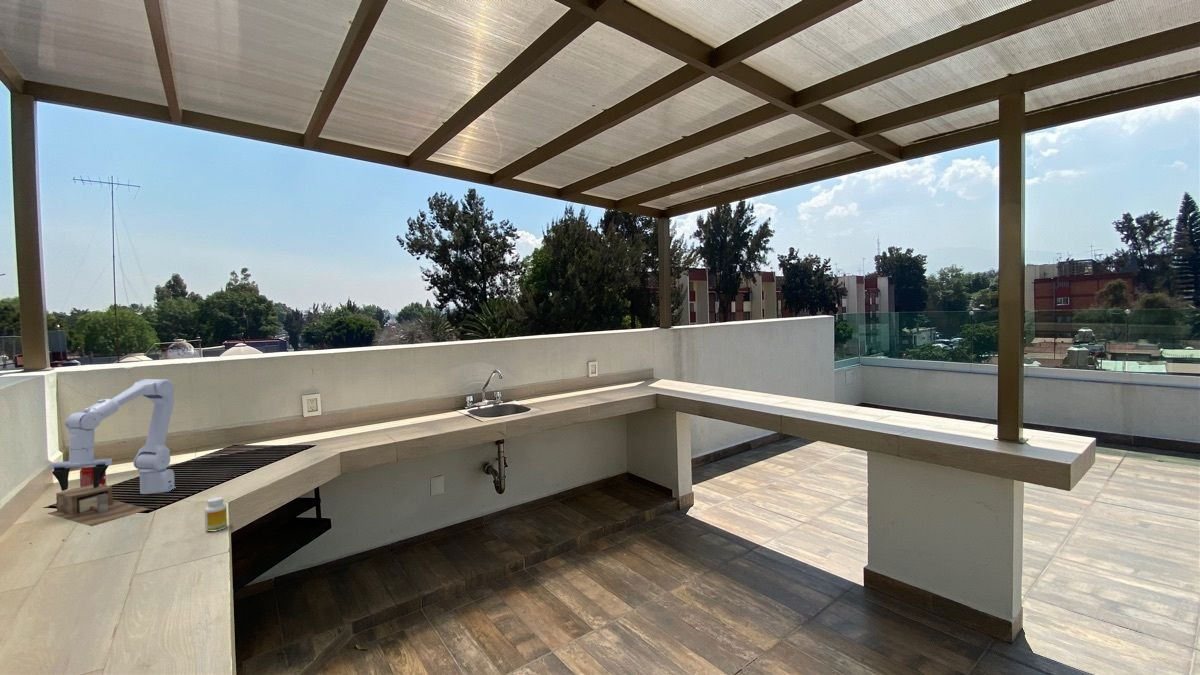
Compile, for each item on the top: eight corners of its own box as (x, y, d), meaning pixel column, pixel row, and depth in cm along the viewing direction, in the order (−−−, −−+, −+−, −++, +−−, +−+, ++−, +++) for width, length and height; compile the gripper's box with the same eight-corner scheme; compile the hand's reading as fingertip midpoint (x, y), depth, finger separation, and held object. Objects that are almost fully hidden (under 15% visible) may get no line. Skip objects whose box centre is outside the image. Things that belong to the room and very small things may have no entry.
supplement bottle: (230, 527, 154) (229, 497, 154) (211, 533, 150) (210, 503, 149) (221, 524, 157) (220, 494, 156) (201, 530, 152) (200, 500, 152)
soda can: (89, 499, 178) (88, 467, 177) (75, 498, 179) (74, 466, 178) (111, 493, 184) (110, 462, 184) (97, 491, 186) (96, 461, 185)
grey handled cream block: (70, 509, 165) (69, 492, 165) (93, 503, 171) (93, 487, 171) (92, 515, 160) (92, 498, 160) (116, 509, 166) (115, 492, 166)
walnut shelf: (46, 516, 163) (45, 495, 162) (105, 500, 177) (104, 481, 176) (91, 529, 152) (91, 506, 152) (150, 511, 166) (149, 491, 166)
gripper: (44, 452, 154) (43, 494, 154) (106, 448, 161) (104, 488, 161) (56, 448, 161) (55, 488, 160) (115, 444, 167) (113, 483, 167)
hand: (80, 488), depth 161 cm, fingers open, 7 cm apart
